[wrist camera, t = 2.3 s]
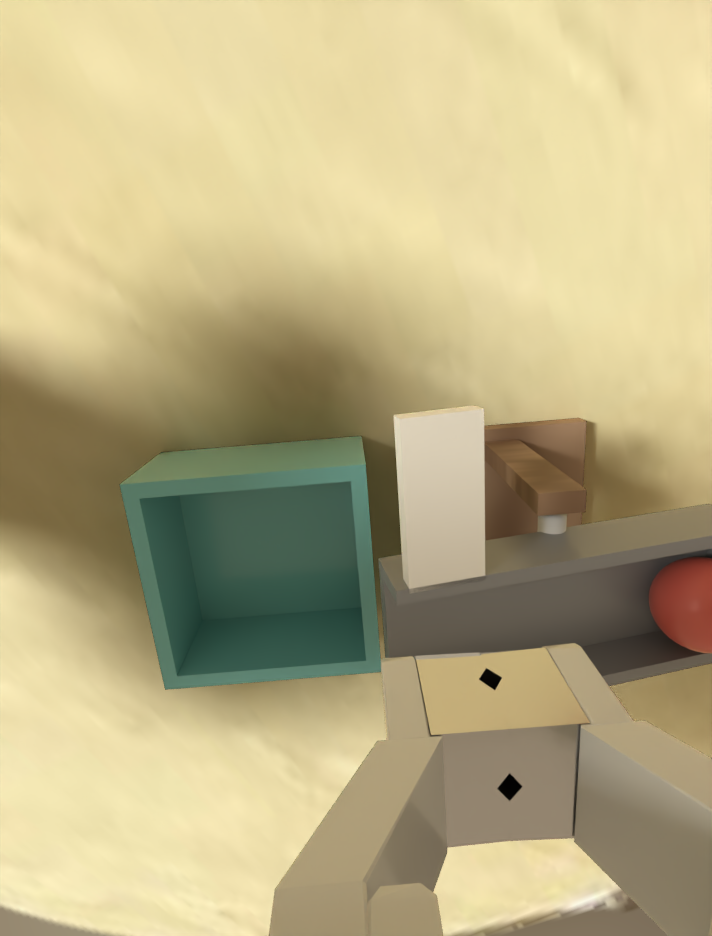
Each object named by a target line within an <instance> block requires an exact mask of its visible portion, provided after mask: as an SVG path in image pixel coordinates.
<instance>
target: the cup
mask: <svg viewBox="0 0 712 936" xmlns="http://www.w3.org/2000/svg"><path fill="white" fill-rule="evenodd" d="M120 489H121V493H122V498H123V502H124V507H125V511H126V516H127V520H128V525H129V529H130V534H131V538H132V543H133V547H134V552H135V556H136V561H137V565H138V570H139V574H140V579H141V583H142V588H143V592H144V597H145V601H146V606H147V610H148V615H149V619H150V624H151V628H152V633H153V637H154V642H155V646H156V651H157V655H158V659H159V664H160V668H161V673H162V677H163V682H164V686H165V690H167V689H179V688H191V687H203V686H215V685H228V684H240V683H252V682H264V681H276V680H289V679H301V678H313V677H325V676H338V675H350V674H362V673H374V672H381V658H380V645H379V632H378V619H377V605H376V592H375V579H374V566H373V553H372V540H371V527H370V514H369V501H368V488H367V475H366V463H365V456H364V449H363V442H362V436H354V437H342V438H330V439H318V440H306V441H293V442H281V443H269V444H257V445H245V446H233V447H220V448H208V449H196V450H184V451H172V452H161V453H160V454H158V455H157V456H156V457H154V458H153V459H152V460H151V461H149V462H148V463H147V464H145V465H144V466H143V467H141V468H140V469H139V470H138V471H136V472H135V473H134V474H132V475H131V476H130V477H129V478H127V479H126V480H125V481H123V482H122V483H121V484H120Z"/></svg>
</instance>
